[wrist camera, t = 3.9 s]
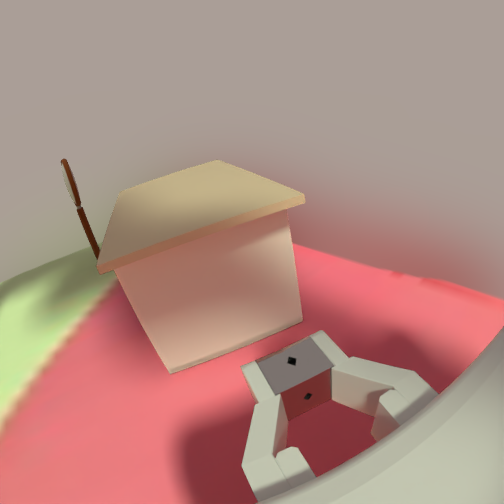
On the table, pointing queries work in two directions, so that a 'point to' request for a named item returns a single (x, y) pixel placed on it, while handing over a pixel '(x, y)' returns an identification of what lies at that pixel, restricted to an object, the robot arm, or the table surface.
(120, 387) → the table surface
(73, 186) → the magnifying glass
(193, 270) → the carton
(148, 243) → the lid flap
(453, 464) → the robot arm
